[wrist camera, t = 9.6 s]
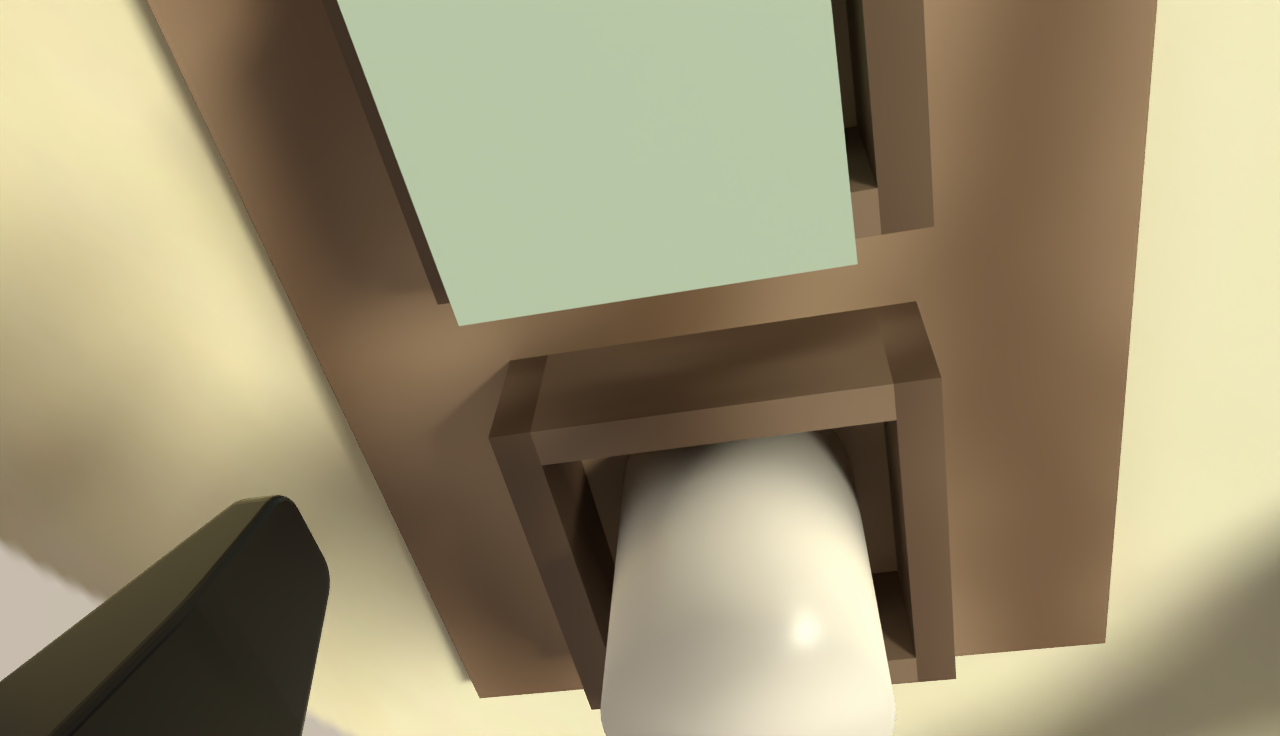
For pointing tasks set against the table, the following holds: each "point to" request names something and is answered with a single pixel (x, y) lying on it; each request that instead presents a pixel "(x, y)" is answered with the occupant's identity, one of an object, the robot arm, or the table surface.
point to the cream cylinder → (745, 596)
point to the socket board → (742, 332)
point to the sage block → (611, 143)
